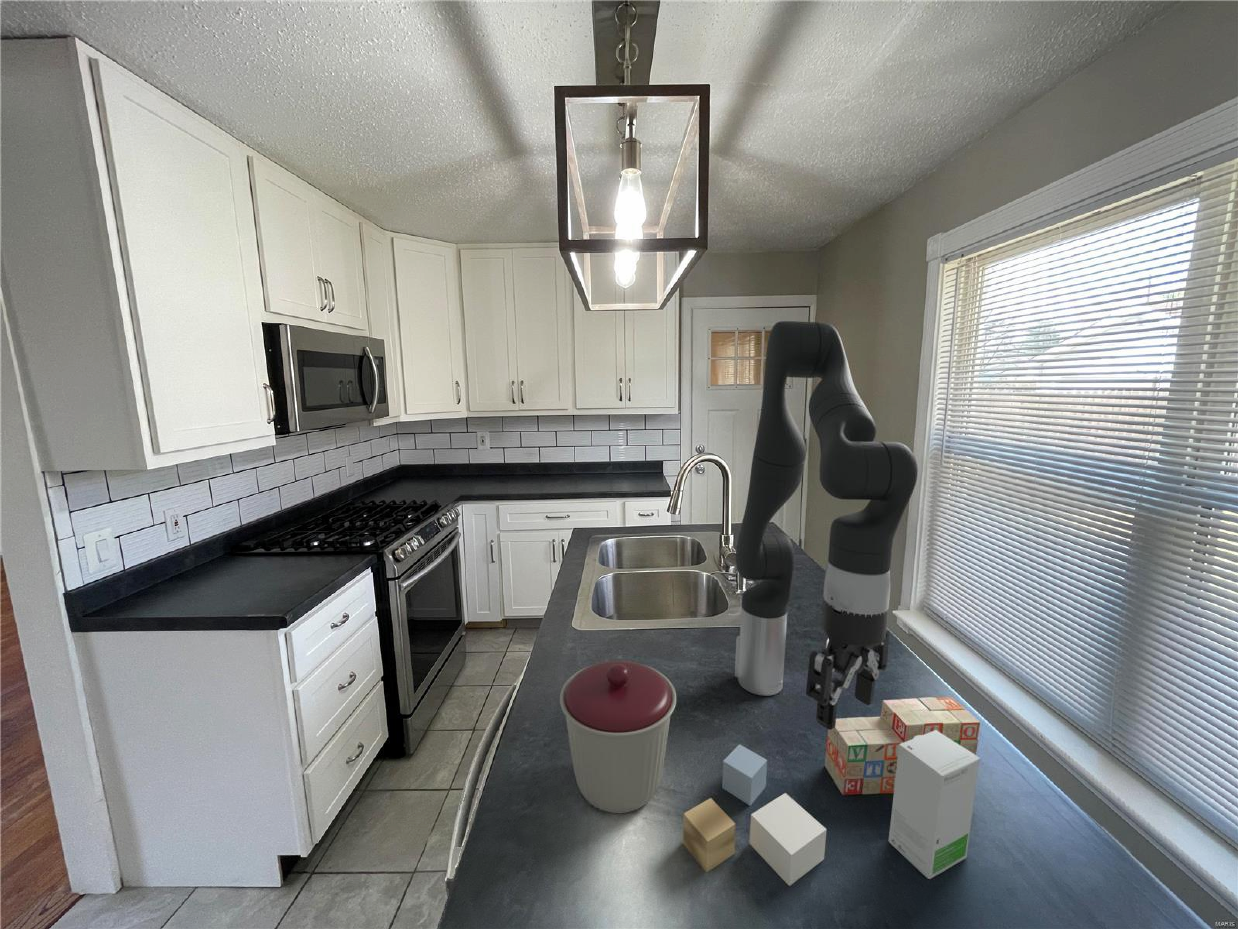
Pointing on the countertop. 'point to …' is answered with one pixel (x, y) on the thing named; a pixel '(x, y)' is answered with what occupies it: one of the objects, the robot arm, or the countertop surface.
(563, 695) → the canister
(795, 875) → the base block
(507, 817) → the countertop surface
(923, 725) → the stack of blocks
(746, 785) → the slate cube
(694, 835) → the maple cube
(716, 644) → the countertop surface
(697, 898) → the countertop surface
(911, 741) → the skincare box
